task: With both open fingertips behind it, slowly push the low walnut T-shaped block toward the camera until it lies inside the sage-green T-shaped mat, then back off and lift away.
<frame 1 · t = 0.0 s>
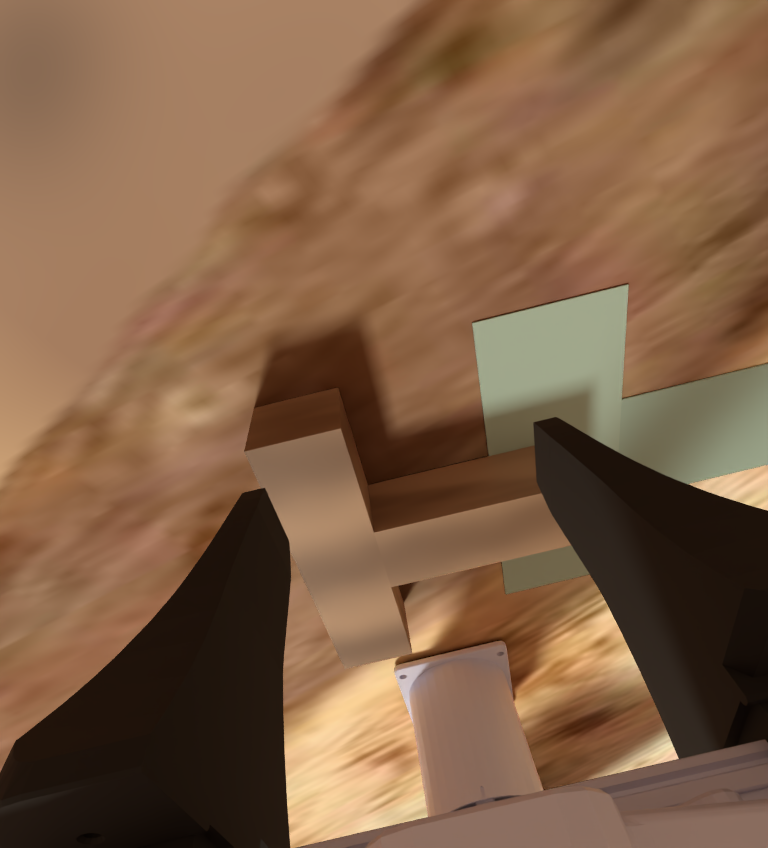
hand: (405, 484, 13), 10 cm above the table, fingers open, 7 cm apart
t mat: (411, 504, 27), on the table
t block: (394, 508, 27), on the table, touching t mat
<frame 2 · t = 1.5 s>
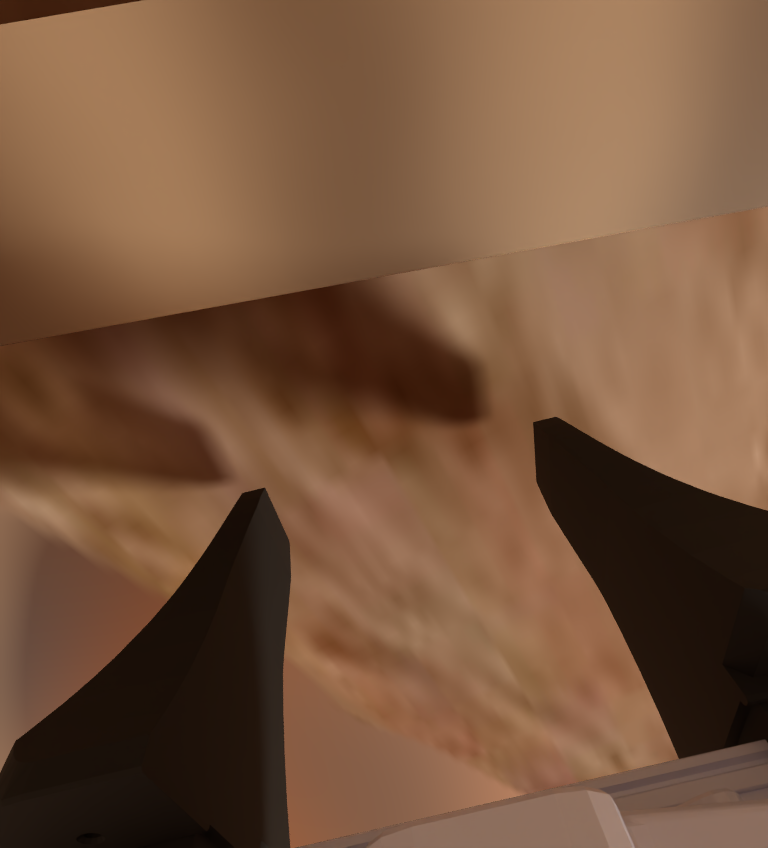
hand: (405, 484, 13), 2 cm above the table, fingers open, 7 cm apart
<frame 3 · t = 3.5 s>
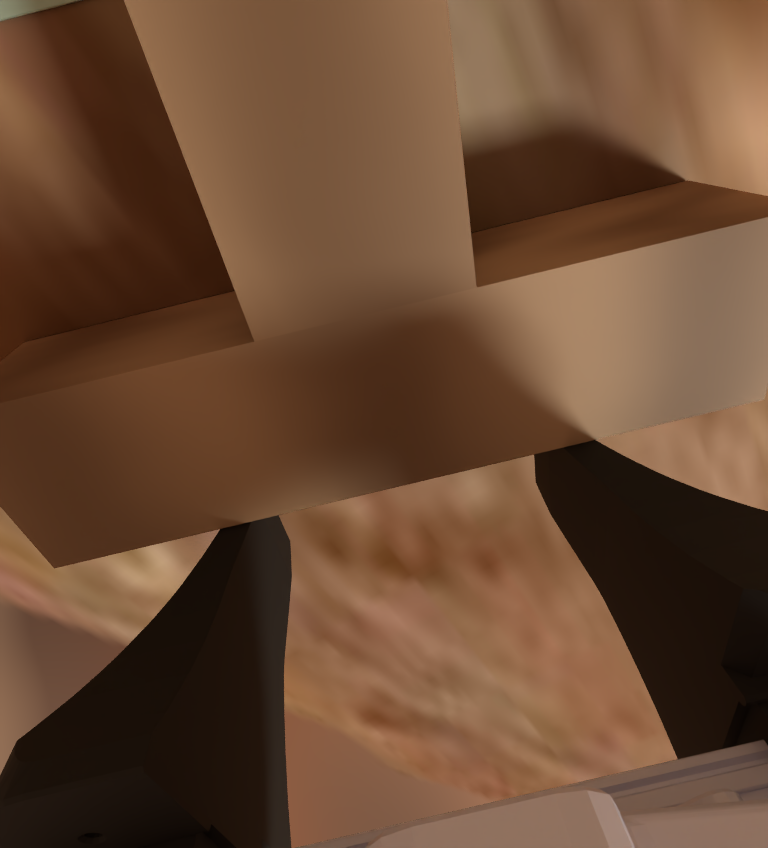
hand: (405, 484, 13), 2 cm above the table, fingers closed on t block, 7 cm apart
t mat: (343, 218, 11), on the table
t block: (341, 217, 11), on the table, touching gripper
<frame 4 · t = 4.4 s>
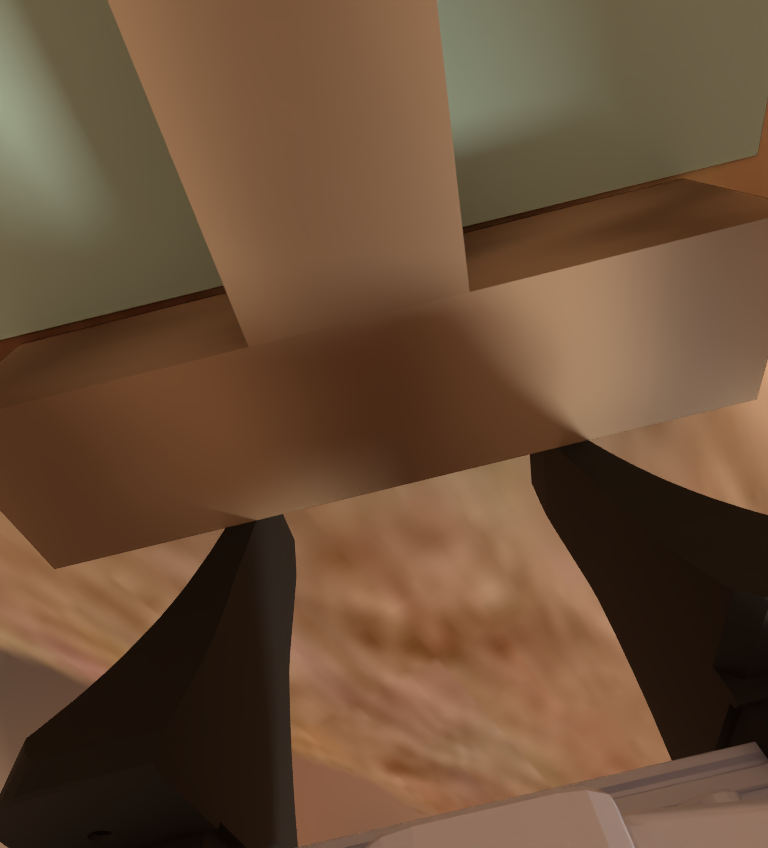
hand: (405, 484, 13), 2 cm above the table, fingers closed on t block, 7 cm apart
t mat: (391, 413, 14), on the table
t block: (335, 218, 11), on the table, touching gripper
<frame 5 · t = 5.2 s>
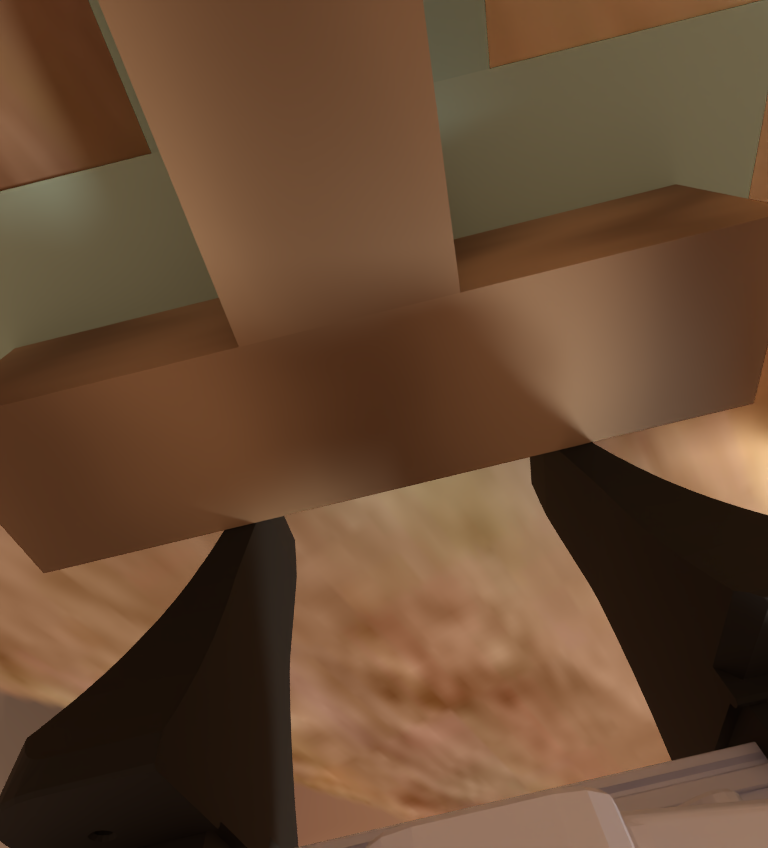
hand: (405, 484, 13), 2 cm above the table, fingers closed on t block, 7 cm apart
t mat: (416, 518, 16), on the table
t block: (329, 223, 11), on the table, touching gripper, t mat
when the fingers open (2 cm above the table, at t = 6.7 s): t block stays where it is, resting on t mat.
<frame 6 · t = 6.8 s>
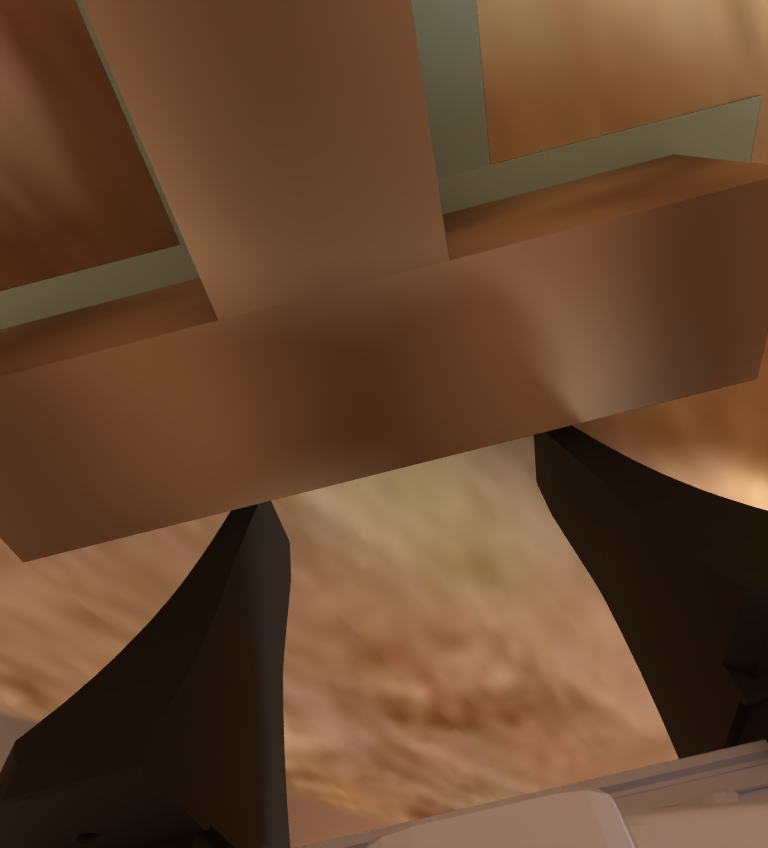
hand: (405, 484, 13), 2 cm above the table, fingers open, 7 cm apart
t mat: (423, 555, 17), on the table
t block: (315, 197, 11), resting on t mat
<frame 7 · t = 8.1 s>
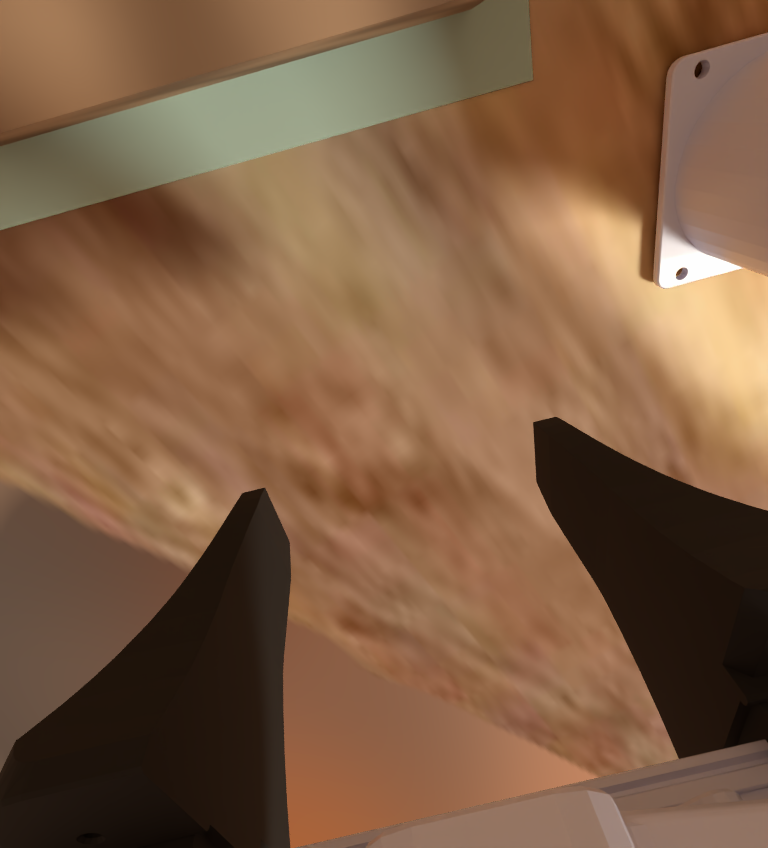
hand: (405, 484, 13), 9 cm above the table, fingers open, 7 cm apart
t mat: (303, 283, 19), on the table
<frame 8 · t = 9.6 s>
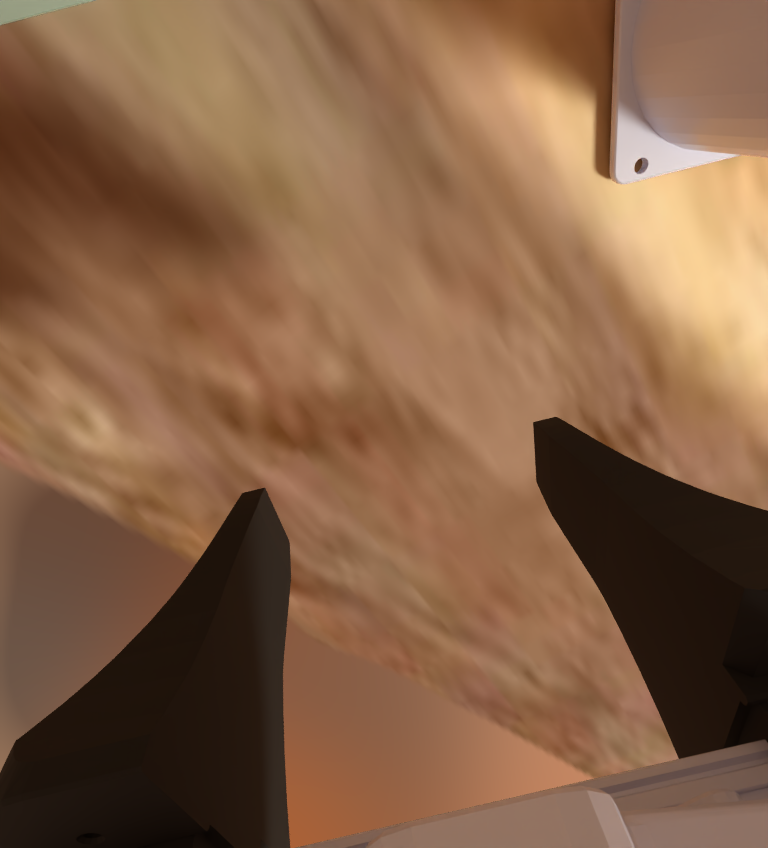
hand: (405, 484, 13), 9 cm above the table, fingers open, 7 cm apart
t mat: (204, 159, 17), on the table
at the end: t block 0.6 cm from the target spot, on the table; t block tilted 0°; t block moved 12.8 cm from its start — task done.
